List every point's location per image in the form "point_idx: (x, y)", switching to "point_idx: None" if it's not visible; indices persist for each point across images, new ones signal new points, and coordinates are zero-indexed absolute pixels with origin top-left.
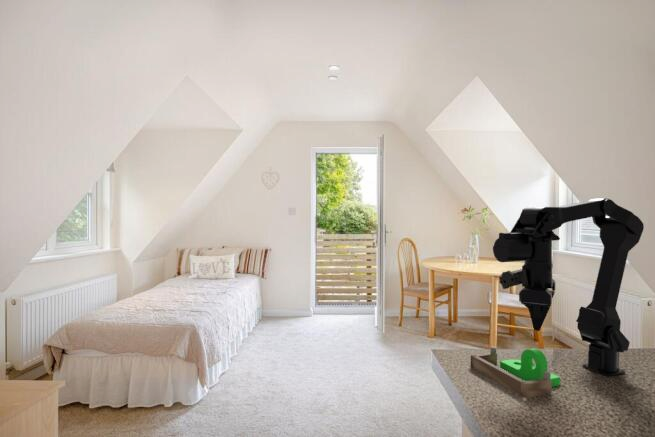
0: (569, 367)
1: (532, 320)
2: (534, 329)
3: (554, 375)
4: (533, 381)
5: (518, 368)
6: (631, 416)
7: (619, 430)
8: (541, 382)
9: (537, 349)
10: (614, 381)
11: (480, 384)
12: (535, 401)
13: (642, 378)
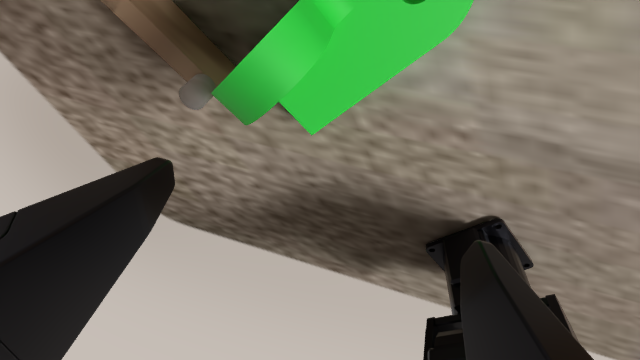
0: (489, 182)
1: (66, 198)
2: (152, 160)
3: (318, 120)
4: (147, 31)
5: None
6: (206, 213)
7: None
8: (167, 61)
9: (261, 109)
10: (396, 247)
11: None
12: None
13: (434, 295)
